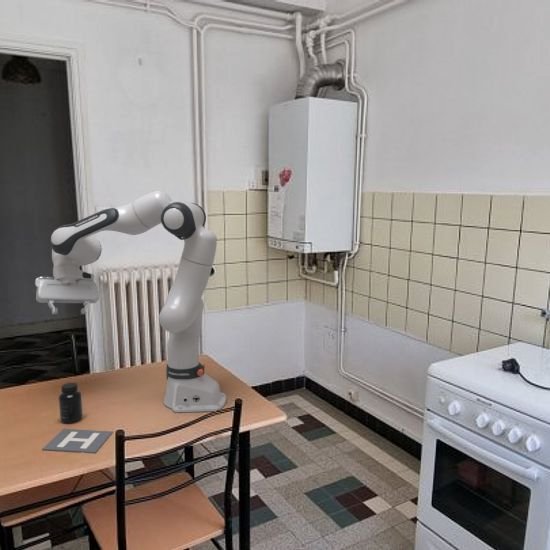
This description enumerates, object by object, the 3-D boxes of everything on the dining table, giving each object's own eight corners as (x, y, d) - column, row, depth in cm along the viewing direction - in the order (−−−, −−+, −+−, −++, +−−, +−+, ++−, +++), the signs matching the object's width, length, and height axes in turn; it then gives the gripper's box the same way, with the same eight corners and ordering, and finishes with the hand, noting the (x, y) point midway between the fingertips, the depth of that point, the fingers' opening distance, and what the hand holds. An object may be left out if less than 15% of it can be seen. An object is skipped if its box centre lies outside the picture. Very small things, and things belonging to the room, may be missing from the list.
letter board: (112, 432, 148) (112, 431, 148) (95, 453, 136) (95, 452, 136) (63, 429, 149) (63, 428, 149) (42, 450, 137) (42, 448, 137)
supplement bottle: (71, 413, 160) (69, 379, 158) (87, 417, 157) (85, 383, 155) (55, 421, 154) (53, 387, 152) (71, 426, 151) (69, 390, 149)
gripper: (36, 272, 159) (38, 309, 153) (98, 275, 171) (102, 310, 166) (32, 280, 163) (34, 317, 158) (93, 282, 176) (96, 317, 170)
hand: (69, 313), depth 162 cm, fingers open, 8 cm apart
